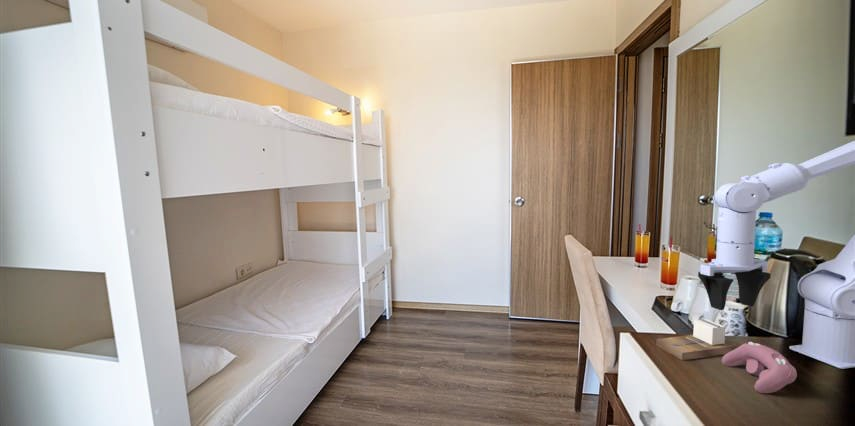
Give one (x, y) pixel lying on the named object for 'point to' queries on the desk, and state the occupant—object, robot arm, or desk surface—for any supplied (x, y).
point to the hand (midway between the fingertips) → (732, 306)
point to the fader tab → (709, 331)
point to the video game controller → (762, 366)
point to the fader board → (693, 347)
